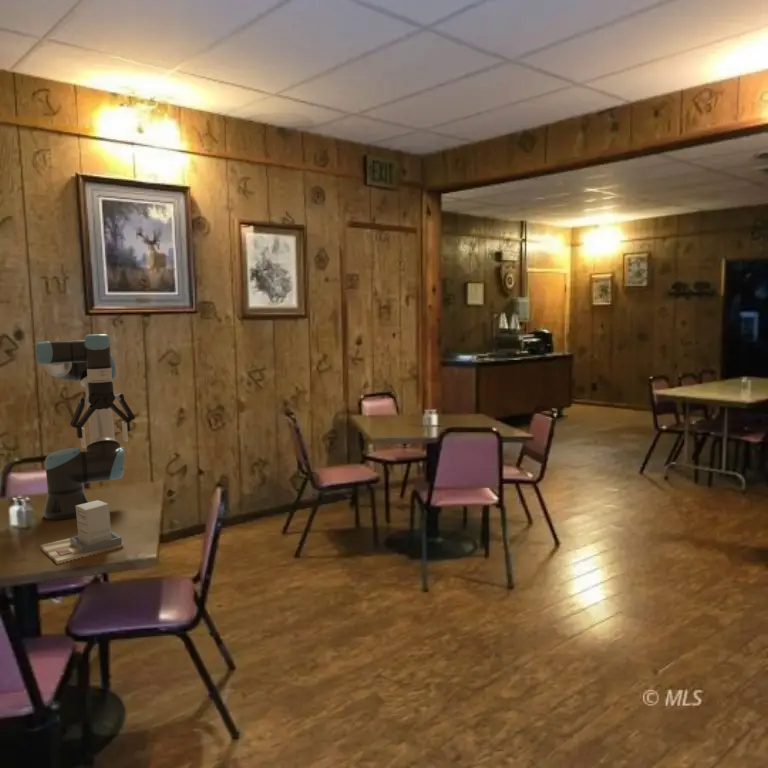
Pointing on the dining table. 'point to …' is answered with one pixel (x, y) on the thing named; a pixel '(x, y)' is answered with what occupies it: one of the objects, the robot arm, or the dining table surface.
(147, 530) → the dining table surface
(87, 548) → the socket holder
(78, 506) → the supplement box
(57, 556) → the board
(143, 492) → the dining table surface
